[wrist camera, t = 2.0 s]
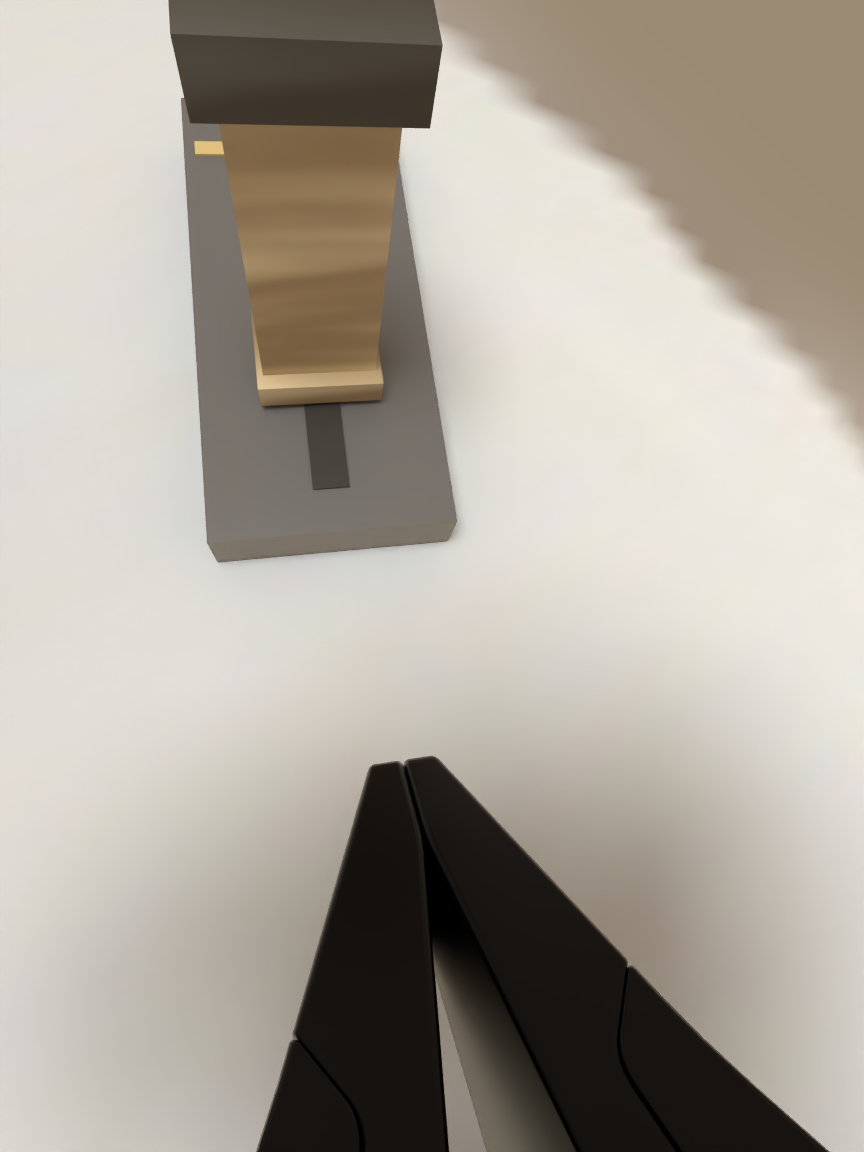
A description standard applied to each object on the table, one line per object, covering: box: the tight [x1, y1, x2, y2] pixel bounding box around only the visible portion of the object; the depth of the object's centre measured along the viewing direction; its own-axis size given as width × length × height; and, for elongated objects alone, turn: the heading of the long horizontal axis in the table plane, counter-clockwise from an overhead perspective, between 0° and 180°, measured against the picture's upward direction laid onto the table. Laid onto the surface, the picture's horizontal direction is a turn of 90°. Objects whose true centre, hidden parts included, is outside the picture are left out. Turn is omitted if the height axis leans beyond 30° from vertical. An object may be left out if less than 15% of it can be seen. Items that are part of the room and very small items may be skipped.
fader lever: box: [169, 0, 442, 406], centre depth 17 cm, size 3×5×12 cm, turn 98°
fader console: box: [181, 98, 457, 562], centre depth 25 cm, size 18×8×2 cm, turn 8°
